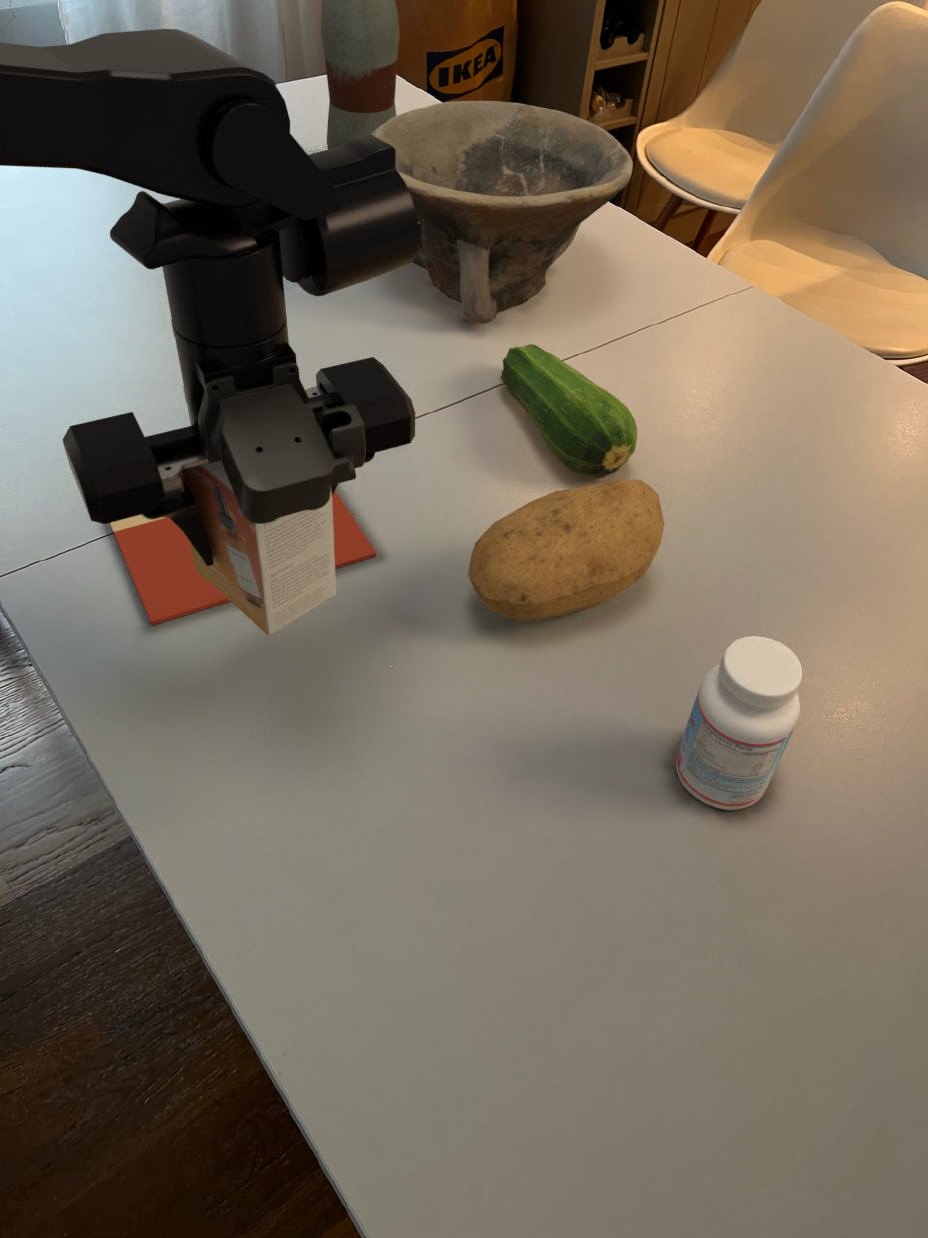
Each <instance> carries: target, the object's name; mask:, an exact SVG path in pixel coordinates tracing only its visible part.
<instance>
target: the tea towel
mask: <svg viewBox="0 0 928 1238" xmlns="http://www.w3.org/2000/svg"><path fill="white" fill-rule="evenodd" d="M332 509H333V531H334V556H335V570H336V569H339V568H342V567H346V566H350V565H353V564H355V563H359V562H362V561H365V560H368V559H371V558H375V557H377V551H376V550H375V548H374V547H373V546H372V544H371V543H370V541H369V539H368V538H367V537H366V535H365V534H364V532H363V530H362V528H361V527H360V525H359V523H357V521H356V520H355V518H354V517H353V515H352V514H351V512H350V511H349V509H348V508H347V506H346V504H345V503H344V501H343V500H342V498H341V497H340V495H339V494H338V492H337V491H336V490H335V492H334V494H333V496H332ZM108 524H109V525H110V528H111V531H112V533H113V535H114V539H115V540H116V543H117V545H118V548H119V550H120V553H121V555H122V557H123V560H124V563H125V564H126V567H127V570H128V572H129V574H130V576H131V579H132V583H133V584H134V586H135V589H136V591H137V593H138V596H139V598H140V602H141V604H142V606H143V608H144V610H145V613H146V615H147V619H148V620H149V623H150V626H155V625H158V624H161V623H165V622H167V621H168V622H169V621H172V620H174V619H177V618H180V617H183V616H187V615H191V614H193V613H197V612H200V611H203V610H206V609H210V608H213V607H216V606H219V605H223V604H226V603H229V602H231V601H230V600H229V599H228V598H227V597H226V596H225V595H223V594H222V593H221V592H220V591H219V590H218V589H217V588H216V587H215V586H213V585H212V584H211V583H210V582H209V581H208V580H206V579H205V578H204V577H203V576H201V575H200V574H199V573H198V572H196V570H195V567H194V561H193V556H192V551H191V545H190V541H189V539H188V538H187V537H186V535H185V534H184V533H183V531H182V530H181V529H180V528H179V527H178V526H177V525H176V524H175V523H174V522H173V521H172V520H171V519H169V518H166V517H162V518H157V519H147V518H145V517H143V516H142V515H138V516H134V517H130V518H126V519H122V520H119V521H115V522H111V523H108Z"/></svg>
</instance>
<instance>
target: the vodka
mask: <svg viewBox="0 0 928 1238" xmlns="http://www.w3.org/2000/svg"><path fill="white" fill-rule="evenodd" d="M398 14H399V13H398V7H397V2H396V0H322V6H321V22H320V36H321V41H322V49H323V55H324V63H325V72H326V73H325V74H326V80H327V90H328V96H329V97H328V98H329V102H328V103H329V104H328V115H327V126H326V127H327V129H326V147H327V148H326V149H327V150H328V149H332V148H336V147H339V146H341V145H343V144H345V143H347V142H348V141H350V140H352V139H355V138H358V137H362V136H365V135H369V134H372V133H373V132H374V131H375V130H376V129H377V128H379V127H380V126H381V125H383V124H385V123H386V122H387V121H388V120H390V119H391V118H393V117H394V116H397V115H398V114H397V110H396V103H395V100H396V88H397V87H396V85H397V72H398V71H397V70H398V55H399V45H400V35H401V34H400V33H401V32H400V24H399V15H398Z"/></svg>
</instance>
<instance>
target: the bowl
mask: <svg viewBox="0 0 928 1238" xmlns="http://www.w3.org/2000/svg"><path fill="white" fill-rule="evenodd" d="M396 115H397V116H394V117H393V118H391V119H390V120H388V121H387V122H386V123H385V124H383V125H381V126H380V127H379V128H377V129H376V130H375V131H374V132H373V133H372V134H371V135H373V136H375V137H377V138H379V139H381V140H382V141H384V142H386V143H388V144H390V145H392V146H393V147H394V148H395V150H396V170H397V171H398V172H399V174H400V175H401V177H402V178H403V180H404V182H405V183H406V185H407V188H408V190H409V192H410V194H411V197H412V200H413V203H414V206H415V209H416V215H417V218H418V219H419V220H420V222H421V243H420V248H419V251H418V254H417V256H416V258H415V259H414V261H413V262H412V263H411V264H414V265H416V266H418V267H420V268H421V269H424V270H426V271H427V274H428V277H429V279H430V282H431V284H432V286H433V287H434V288H435V289H437V290H438V291H439V292H440V293H442V294H443V295H445V296H446V297H447V298H448V299H451V300H453V301H455V302H457V303H459V304H461V308H462V314H463V316H464V318H465V319H466V320H467V321H469V322H472V323H479V324H488V323H489V324H490V322H492V321H494V320H495V318H496V317H497V315H498V314H499V313H501V312H503V311H506V310H508V309H509V310H510V309H511V308H514V307H517V306H520V305H523V304H525V303H526V302H528V301H530V300H531V299H532V298H533V297H535V296H536V295H538V294H539V293H540V292H541V290H542V289H543V288H544V287H545V285H546V284H547V282H546V275H547V272H548V270H549V268H550V267H551V266H553V264H554V263H555V262H556V261H557V260H558V259H559V258H560V257H561V256H562V255H563V254H564V253H565V252H566V251H567V249H568V248H569V247H570V245H571V244H572V243H573V241H574V239H575V237H576V235H577V233H578V231H579V228H580V226H581V223H583V222H584V221H585V220H587V219H589V217H591V216H592V215H593V214H594V213H596V212H597V211H599V209H601V208H602V207H603V206H605V205H606V204H608V202H610V201H611V200H612V199H613V198H614V197H616V196H617V194H618V193H619V192H621V191H622V190H623V189H624V188H625V187H626V186H627V185H628V184H629V182H630V180H631V177H632V174H633V167H634V162H633V159H632V157H631V155H630V154H629V151H628V150H627V149H626V148H625V147H624V146H623V145H622V144H621V143H620V141H619V140H618V139H617V138H616V137H615V136H613V135H612V134H611V133H609V132H608V131H607V130H605V129H604V128H603V127H600V126H599V125H597V124H594V123H592V122H590V121H588V120H585V119H584V118H581V117H578V116H575V115H573V114H571V113H567V112H564V111H560V110H557V109H550V108H546V107H540V106H535V105H530V104H525V103H520V102H510V101H500V100H499V101H496V100H460V101H459V100H457V101H445V102H439V103H435V104H431V105H428V106H424V107H421V108H416V109H411V110H408V111H406V112H403V113H400V114H396Z"/></svg>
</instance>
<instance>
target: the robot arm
mask: <svg viewBox="0 0 928 1238" xmlns="http://www.w3.org/2000/svg"><path fill="white" fill-rule="evenodd" d="M1 166H2V167H26V168H47V169H48V168H51V169H74V170H80V171H85V172H88V173H89V172H90V173H95V174H98V175H102V176H106V177H110V178H113V179H116V180H119V181H121V182H123V183H127V184H130V185H132V186H136V187H138V188H141V189H144V190H148V191H150V192H153V193H156V194H159V195H161V196H167V197H171V198H175V199H176V200H172V201H169V202H163V203H162V202H160V201H159V200H157V199H156V198H155V197H153V196H152V195H151V194H149V193H148V192H147V191H144V190H140V191H139V192H137V194H136V196H135V199H134V201H133V202H132V205H131V206H130V208H129V209H128V210H127V211H126V212H124V214H122V215H121V216H120V217H119V218H118V219H117V221H116V223H115V224H114V225H113V226H112V227H111V228H110V231H109V238H110V239H111V241H112V242H114V243H115V244H116V245H117V246H118V247H120V248H121V249H122V250H124V251H125V252H126V253H127V254H128V255H130V256H131V257H132V258H133V259H135V260H136V261H137V262H138V263H139V264H140V265H142V266H143V267H145V269H147V270H157V269H159V268H162V273H163V278H164V284H165V290H166V295H167V301H168V306H169V310H170V318H171V319H170V322H171V328H172V332H173V337H174V339H175V344H176V345H175V346H176V351H177V357H178V361H179V362H178V363H179V368H180V373H181V379H182V384H183V386H182V388H183V394H184V399H185V404H186V407H187V413H188V418H189V423H190V425H189V426H185V427H181V428H176V429H173V430H168V431H164V432H159V433H155V434H151V435H147V436H145V434H144V432H143V430H142V428H141V426H140V423H139V422H138V420H137V418H136V415H135V414H134V412H133V411H130V412H125V413H121V414H116V415H112V416H108V417H103V418H99V419H95V420H91V421H86V422H82V423H77V424H72V425H69V427H68V429H67V431H66V432H65V434H64V436H63V437H62V445H63V448H64V451H65V454H66V458H67V461H68V465H69V468H70V470H71V472H72V475H73V478H74V480H75V483H76V486H77V488H78V491H79V493H80V496H81V498H82V500H83V504H84V506H85V509H86V511H87V514H88V517H89V519H90V521H91V522H96V523H98V524H101V525H108V524H109V523H111V522H115V521H119V520H122V519H126V518H130V517H134V516H138V515H142V516H143V517H145V518H147V519H157V518H162V517H166V518H169V519H171V520H172V521H173V522H174V523H175V524H176V525H177V526H178V527H179V528H180V529H181V530H182V531H183V533H184V534H185V535H186V537H187V538H188V539H189V541H190V542H191V544H192V545H193V547H194V548H195V549H196V551H197V552H198V554H199V555H200V557H201V558H202V559H203V561H204V562H205V564H206V565H207V566H211V565H213V564H214V562H213V555H212V549H211V546H210V543H209V540H208V538H207V535H206V532H205V529H204V526H203V524H202V521H201V518H200V515H199V513H198V504H197V502H196V500H195V498H194V496H193V494H192V492H191V490H190V488H189V486H188V484H187V482H186V480H185V478H184V476H183V470H184V469H187V468H191V467H195V466H199V465H203V464H207V463H214V462H218V461H222V464H223V467H224V470H225V472H226V474H227V477H228V479H229V481H230V484H231V486H232V489H233V491H234V493H235V496H236V498H237V501H238V504H239V507H240V510H241V512H242V514H243V516H244V517H245V518H246V519H248V520H249V521H251V522H253V523H257V524H264V523H269V522H272V521H275V520H276V519H277V518H280V517H283V516H287V515H290V514H294V513H298V512H301V511H305V510H315V509H319V508H321V507H323V506H324V505H326V504H327V503H328V501H329V499H330V494H331V488H332V496H333V494H334V492H335V491H336V489H337V488H338V486H339V484H342V483H346V482H349V481H353V480H356V479H357V474H356V473H357V472H356V469H359V468H362V467H363V466H364V465H365V464H366V463H369V462H371V461H372V460H373V459H374V457H375V455H376V453H380V452H383V451H387V450H391V449H395V448H398V447H402V446H407V445H409V444H412V441H413V440H414V438H415V437H416V411H415V407H414V404H413V400H412V398H411V397H410V396H409V394H408V393H407V392H406V391H405V390H404V388H403V387H402V386H401V385H400V384H399V382H398V381H397V380H396V379H395V377H394V376H393V375H392V374H391V372H390V371H389V370H388V368H387V367H386V366H385V364H383V363H381V362H380V361H379V360H378V359H377V358H376V357H374V356H371V357H370V356H369V357H367V358H366V357H365V358H362V359H357V360H353V361H348V362H344V363H340V364H335V365H332V366H331V365H330V366H327V367H323V368H320V369H319V370H318V371H317V373H315V381H316V382H315V384H316V386H313V387H309V388H307V389H305V386H304V385H303V383H302V381H301V378H300V368H299V366H298V363H297V354H296V352H295V351H294V349H293V348H292V347H291V344H290V341H289V330H288V317H287V307H286V296H285V295H286V294H285V285H284V284H285V283H284V279H285V280H286V281H287V282H290V283H293V284H297V285H298V286H299V287H300V288H301V289H302V290H303V291H304V292H306V293H307V294H308V295H312V296H314V297H323V296H326V295H329V294H332V293H335V292H337V291H341V290H344V289H346V288H349V287H352V286H355V285H357V284H358V285H359V284H360V283H363V282H367V281H369V280H373V279H375V278H378V277H380V276H381V277H382V276H384V275H386V274H389V273H392V272H395V271H398V270H401V269H403V268H407V267H409V265H412V264H413V263H412V262H413V261H414V259H415V258H416V256H417V254H418V251H419V248H420V243H421V222H420V220H419V219H418V218H417V215H416V209H415V206H414V203H413V200H412V197H411V194H410V192H409V190H408V188H407V185H406V183H405V182H404V180H403V178H402V177H401V175H400V174H399V172H398V171H397V170H396V150H395V148H394V147H393V146H392V145H390V144H388V143H386V142H384V141H382V140H381V139H379V138H377V137H375V136H373V135H371V134H369V135H365V136H362V137H358V138H355V139H352V140H350V141H348V142H347V143H345V144H343V145H341V146H339V147H336V148H332V149H328V148H327V149H325V150H321V151H317V152H313V153H310V154H308V153H307V152H306V151H305V150H304V148H303V147H302V146H301V145H300V143H299V142H298V140H296V138H295V137H294V136H293V135H292V133H291V118H290V115H289V111H288V106H287V103H286V100H285V98H284V97H283V95H282V94H281V92H280V90H279V88H278V87H277V83H276V82H275V80H273V79H272V78H270V77H269V76H268V75H267V74H265V73H264V72H262V71H260V70H258V69H257V68H255V67H253V66H251V65H249V64H248V63H245V62H243V61H242V60H240V59H238V58H236V57H235V56H233V55H231V54H229V53H228V52H225V51H224V50H221V49H220V48H218V47H216V46H215V45H212V44H210V43H209V42H206V41H205V40H203V39H201V38H199V37H198V36H195V35H194V34H192V33H189V32H187V31H183V30H180V29H177V28H176V29H175V28H158V29H157V28H156V29H146V30H131V31H130V30H129V31H117V32H116V31H115V32H105V33H100V34H97V35H94V36H91V37H89V38H85V39H82V40H79V41H76V42H73V43H70V44H62V45H50V46H49V45H47V46H36V45H35V46H33V45H25V44H17V43H15V44H14V43H8V42H0V167H1Z"/></svg>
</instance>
